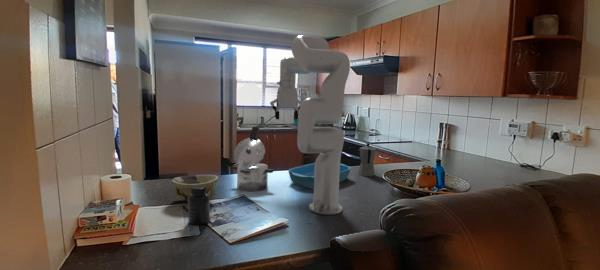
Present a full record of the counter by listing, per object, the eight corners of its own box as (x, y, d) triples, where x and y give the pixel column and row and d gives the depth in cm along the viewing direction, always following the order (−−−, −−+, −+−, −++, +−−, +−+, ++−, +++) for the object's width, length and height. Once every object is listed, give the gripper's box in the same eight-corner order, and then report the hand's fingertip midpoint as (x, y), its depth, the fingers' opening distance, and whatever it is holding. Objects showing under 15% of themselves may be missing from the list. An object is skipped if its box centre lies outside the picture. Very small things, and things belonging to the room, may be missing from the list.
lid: (260, 169, 142) (258, 167, 140) (230, 166, 146) (228, 164, 144) (271, 129, 151) (269, 127, 149) (242, 127, 155) (241, 125, 153)
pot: (264, 194, 142) (264, 171, 141) (224, 189, 148) (224, 167, 146) (277, 185, 156) (277, 165, 155) (240, 181, 162) (240, 161, 161)
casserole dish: (316, 194, 145) (316, 178, 144) (279, 184, 159) (279, 170, 158) (357, 179, 174) (358, 166, 173) (323, 172, 188) (323, 160, 187)
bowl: (226, 196, 137) (226, 174, 136) (202, 210, 120) (202, 185, 118) (189, 192, 141) (189, 170, 140) (161, 205, 124) (161, 180, 123)
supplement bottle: (202, 216, 114) (201, 183, 113) (213, 221, 110) (213, 186, 108) (184, 221, 109) (183, 186, 107) (195, 227, 104) (195, 191, 103)
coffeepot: (357, 171, 191) (358, 141, 189) (373, 172, 190) (375, 141, 188) (359, 178, 176) (361, 145, 174) (377, 178, 175) (379, 145, 173)
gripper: (273, 83, 154) (272, 119, 156) (306, 85, 160) (305, 119, 162) (268, 84, 161) (267, 118, 163) (300, 85, 167) (299, 118, 169)
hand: (286, 119), depth 162 cm, fingers open, 9 cm apart
